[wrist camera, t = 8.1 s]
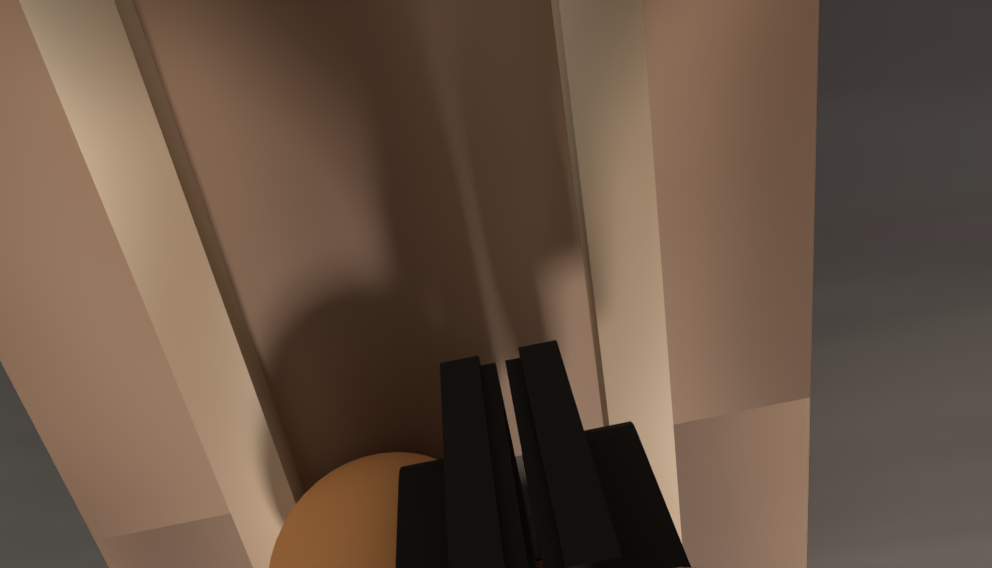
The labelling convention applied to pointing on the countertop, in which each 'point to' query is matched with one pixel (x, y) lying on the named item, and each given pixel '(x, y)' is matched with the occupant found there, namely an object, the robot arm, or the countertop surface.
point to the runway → (404, 247)
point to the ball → (346, 517)
